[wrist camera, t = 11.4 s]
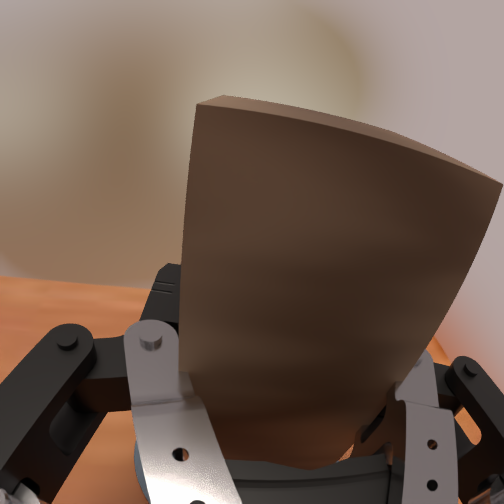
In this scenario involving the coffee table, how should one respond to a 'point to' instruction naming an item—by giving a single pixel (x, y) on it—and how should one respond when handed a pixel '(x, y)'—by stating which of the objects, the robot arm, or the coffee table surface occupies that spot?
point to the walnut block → (314, 271)
